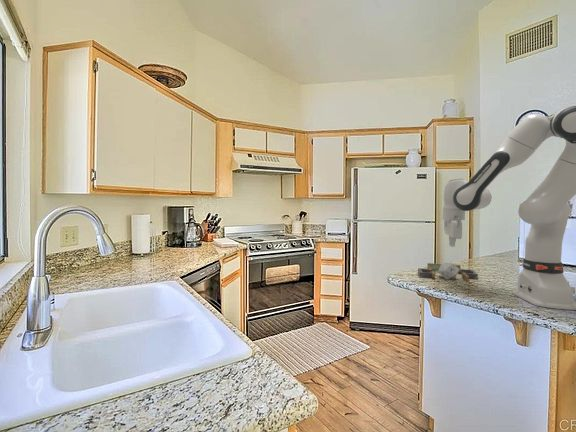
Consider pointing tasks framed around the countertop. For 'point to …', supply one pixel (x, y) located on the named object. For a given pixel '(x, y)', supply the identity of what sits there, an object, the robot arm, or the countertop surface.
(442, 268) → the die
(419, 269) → the trap lane
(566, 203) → the robot arm
